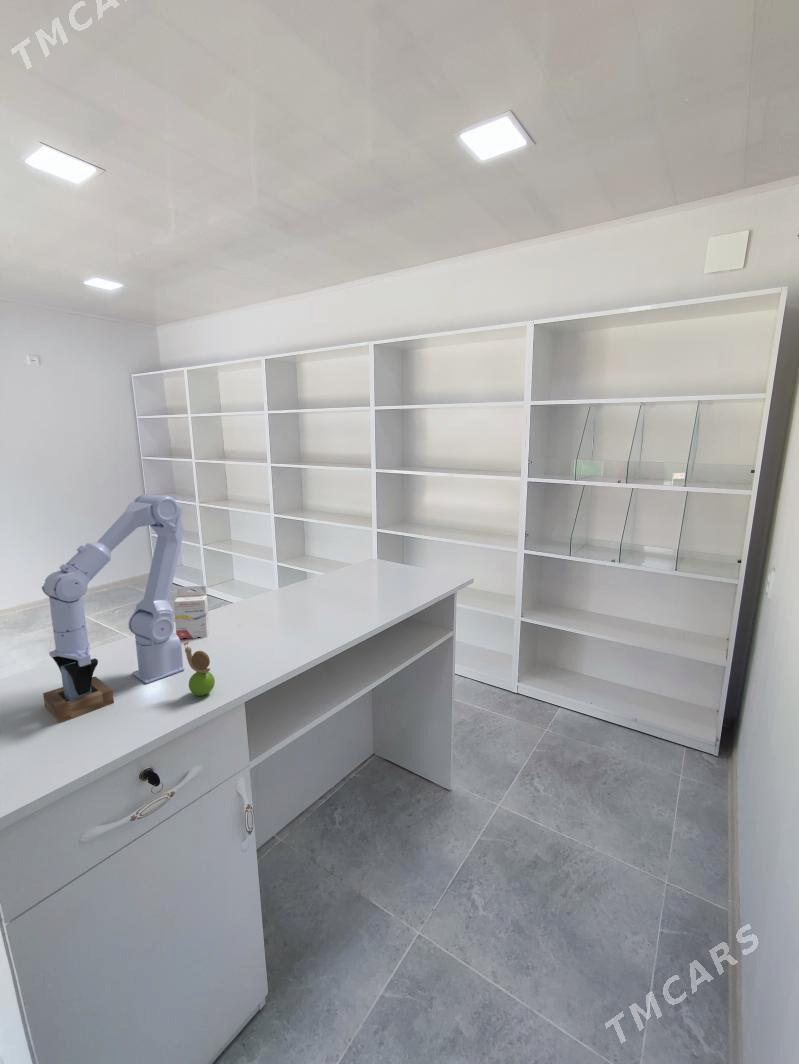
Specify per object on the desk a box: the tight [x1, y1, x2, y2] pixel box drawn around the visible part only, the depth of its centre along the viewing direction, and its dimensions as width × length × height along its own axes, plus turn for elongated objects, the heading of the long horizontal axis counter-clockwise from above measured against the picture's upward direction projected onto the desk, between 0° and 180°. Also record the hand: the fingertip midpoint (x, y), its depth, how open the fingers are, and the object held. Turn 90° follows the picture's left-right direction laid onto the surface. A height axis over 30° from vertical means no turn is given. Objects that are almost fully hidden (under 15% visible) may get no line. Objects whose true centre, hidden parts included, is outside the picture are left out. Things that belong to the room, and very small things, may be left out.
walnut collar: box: [42, 676, 115, 724], centre depth 102 cm, size 10×10×3 cm
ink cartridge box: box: [173, 585, 210, 640], centre depth 139 cm, size 9×5×15 cm, turn 104°
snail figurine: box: [183, 641, 216, 697], centre depth 106 cm, size 5×6×12 cm
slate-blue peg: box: [60, 662, 92, 702], centre depth 102 cm, size 4×4×9 cm
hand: (77, 687), depth 102 cm, fingers open, 7 cm apart
